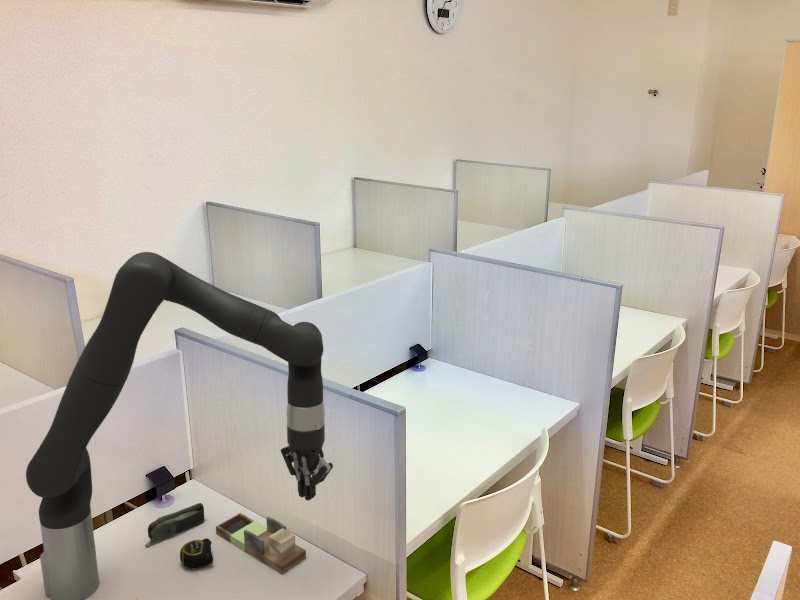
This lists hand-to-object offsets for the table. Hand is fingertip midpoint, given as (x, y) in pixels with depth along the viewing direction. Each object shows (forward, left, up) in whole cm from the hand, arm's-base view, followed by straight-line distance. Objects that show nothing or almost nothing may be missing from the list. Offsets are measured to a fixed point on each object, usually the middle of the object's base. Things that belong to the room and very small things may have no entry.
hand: (306, 496), depth 141 cm
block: (-7, +4, -17) cm, 19 cm away
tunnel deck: (-13, +8, -19) cm, 25 cm away
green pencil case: (-34, +10, -19) cm, 41 cm away
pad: (-16, +10, -19) cm, 27 cm away
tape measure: (-25, +2, -19) cm, 31 cm away
